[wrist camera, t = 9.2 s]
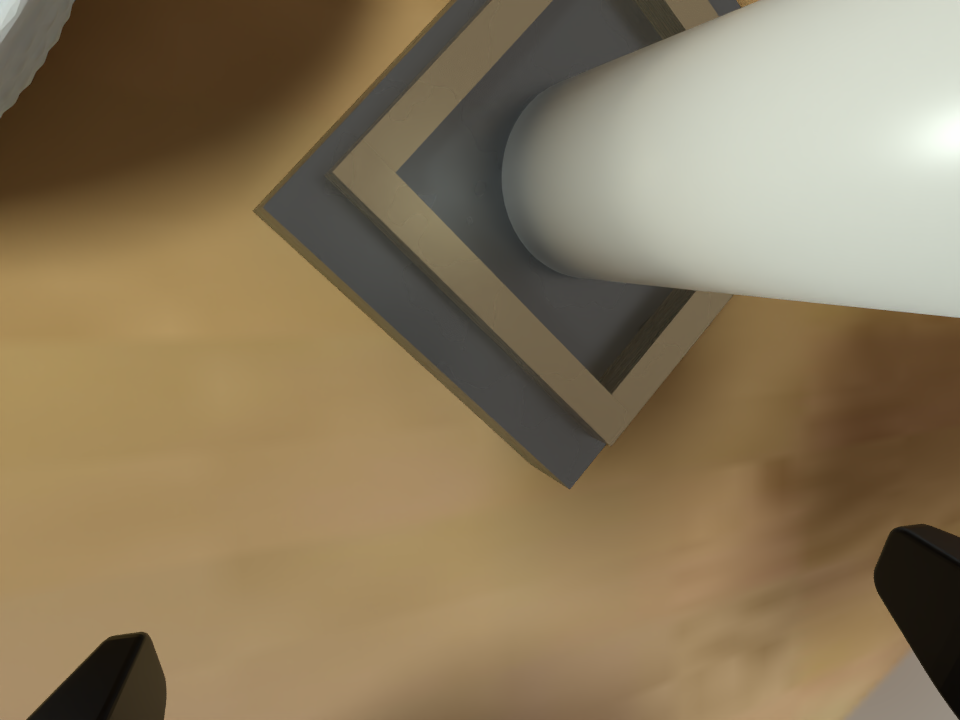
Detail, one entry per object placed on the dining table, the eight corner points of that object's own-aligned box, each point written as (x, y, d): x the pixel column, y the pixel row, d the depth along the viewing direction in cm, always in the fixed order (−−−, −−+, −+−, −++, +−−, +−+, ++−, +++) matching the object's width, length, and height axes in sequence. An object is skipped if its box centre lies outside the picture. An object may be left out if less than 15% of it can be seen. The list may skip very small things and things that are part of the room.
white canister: (647, 298, 21) (1379, 395, 8) (480, 250, 19) (1104, 280, 6) (695, 114, 21) (1536, -84, 8) (530, 46, 19) (1300, -371, 6)
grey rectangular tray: (531, 464, 23) (587, 500, 20) (252, 211, 19) (267, 205, 16) (779, 162, 25) (866, 151, 22) (571, -129, 21) (643, -195, 18)
